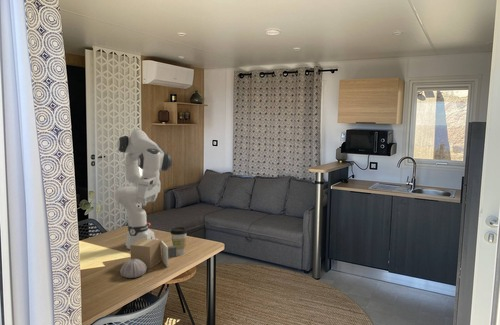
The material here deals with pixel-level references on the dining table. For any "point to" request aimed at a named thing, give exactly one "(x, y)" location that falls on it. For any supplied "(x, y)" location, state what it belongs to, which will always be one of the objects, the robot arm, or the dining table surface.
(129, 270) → the sea urchin shell
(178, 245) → the coffee cup
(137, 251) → the carton
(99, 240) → the dining table surface
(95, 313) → the dining table surface
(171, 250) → the flap
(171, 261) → the dining table surface
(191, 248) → the dining table surface
